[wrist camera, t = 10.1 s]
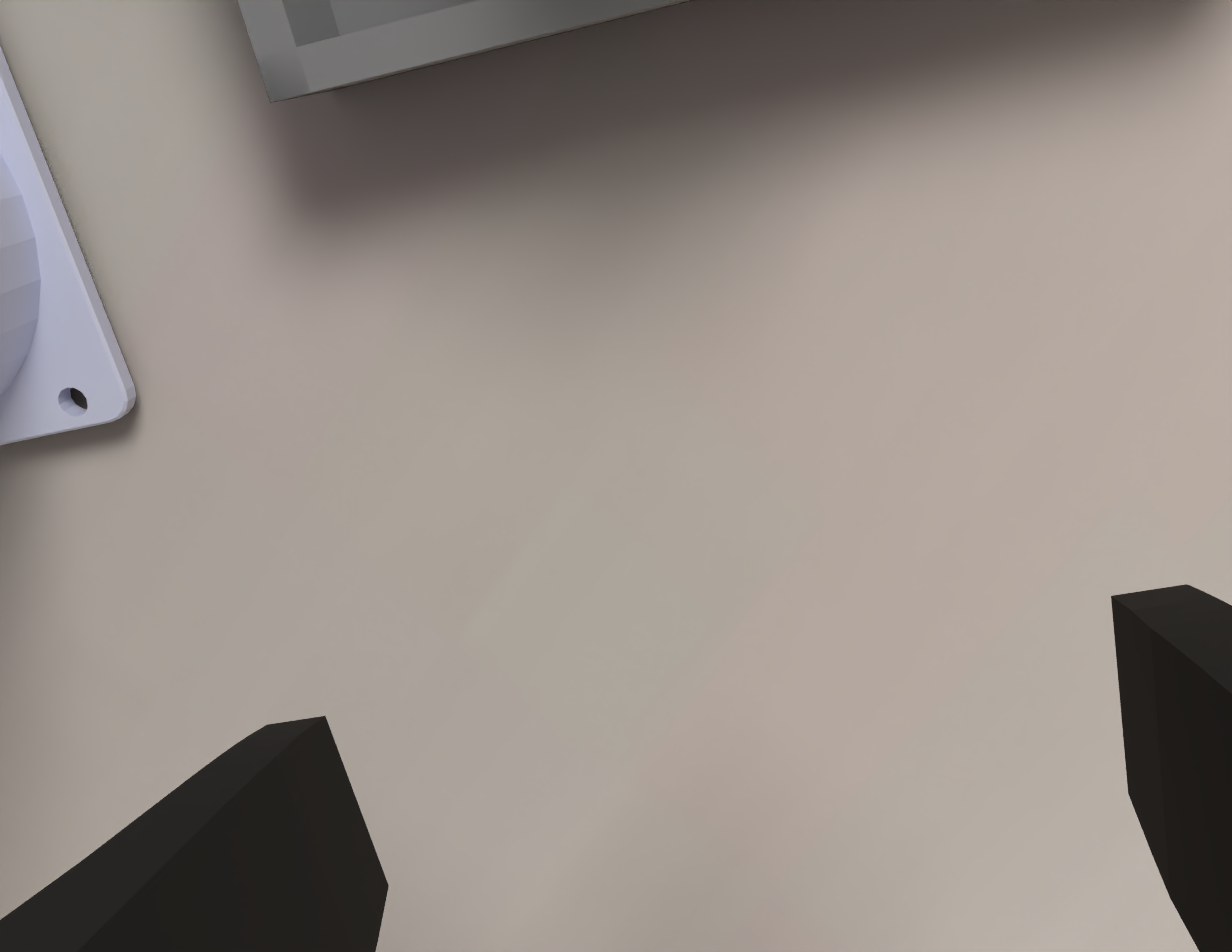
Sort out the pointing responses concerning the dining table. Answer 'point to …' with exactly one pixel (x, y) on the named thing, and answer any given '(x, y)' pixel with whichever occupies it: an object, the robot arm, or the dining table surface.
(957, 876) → the dining table surface
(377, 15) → the parts bin
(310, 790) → the robot arm
